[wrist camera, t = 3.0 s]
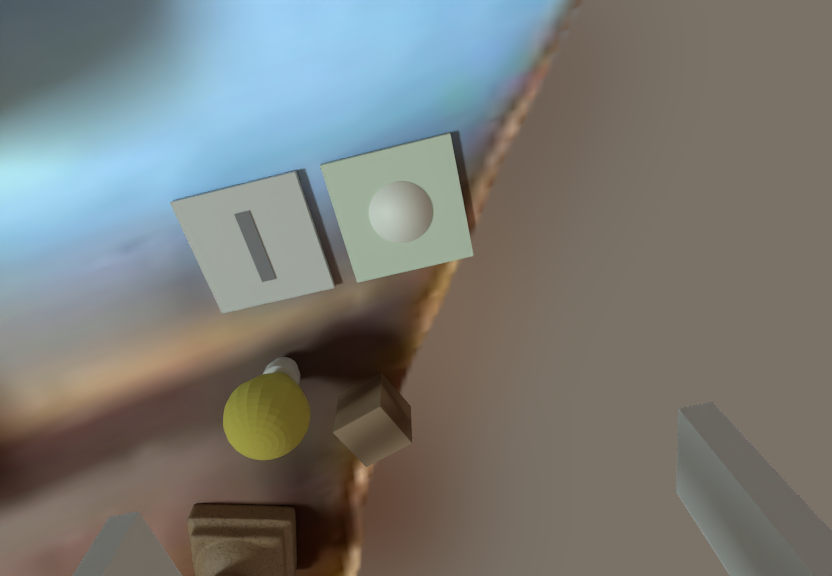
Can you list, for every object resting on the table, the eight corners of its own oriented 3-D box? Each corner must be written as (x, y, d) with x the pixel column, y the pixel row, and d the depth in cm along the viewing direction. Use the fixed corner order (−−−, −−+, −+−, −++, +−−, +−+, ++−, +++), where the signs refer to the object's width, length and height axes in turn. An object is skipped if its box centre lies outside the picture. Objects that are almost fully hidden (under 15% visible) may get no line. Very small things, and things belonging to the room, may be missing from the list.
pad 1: (173, 200, 37) (169, 203, 36) (296, 170, 36) (294, 172, 36) (224, 310, 41) (221, 314, 41) (335, 284, 41) (334, 288, 40)
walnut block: (338, 395, 46) (332, 432, 42) (381, 371, 45) (380, 406, 41) (369, 428, 48) (366, 467, 43) (410, 406, 47) (412, 443, 42)
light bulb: (336, 374, 45) (321, 453, 36) (281, 407, 46) (253, 491, 37) (289, 323, 42) (260, 395, 33) (232, 360, 44) (190, 438, 35)
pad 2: (321, 164, 36) (319, 165, 36) (449, 132, 36) (450, 133, 35) (357, 279, 41) (357, 283, 40) (472, 253, 40) (473, 256, 39)
